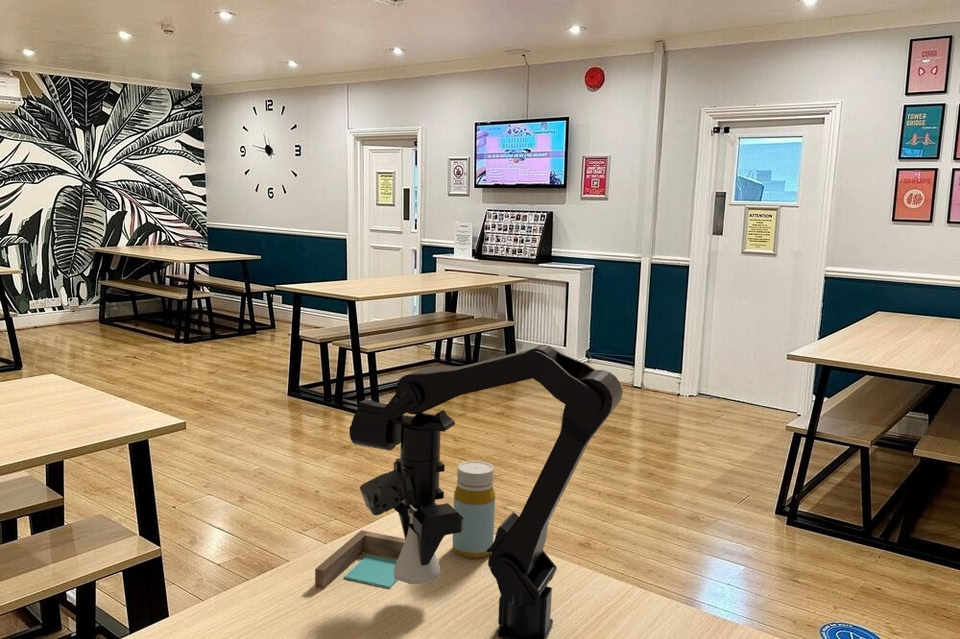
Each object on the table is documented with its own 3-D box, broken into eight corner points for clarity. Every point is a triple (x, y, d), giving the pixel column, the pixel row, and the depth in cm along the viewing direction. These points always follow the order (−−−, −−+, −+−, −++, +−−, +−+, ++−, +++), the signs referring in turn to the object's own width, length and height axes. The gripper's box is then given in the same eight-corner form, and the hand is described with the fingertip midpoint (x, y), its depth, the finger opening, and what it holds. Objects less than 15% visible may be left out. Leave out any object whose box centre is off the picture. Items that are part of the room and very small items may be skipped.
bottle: (446, 545, 129) (448, 462, 126) (482, 538, 132) (485, 458, 129) (462, 563, 122) (465, 476, 120) (499, 555, 125) (503, 471, 123)
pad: (411, 565, 121) (411, 563, 121) (390, 588, 113) (390, 586, 113) (367, 556, 123) (367, 554, 123) (344, 578, 116) (344, 576, 116)
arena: (420, 558, 123) (421, 541, 123) (381, 602, 109) (381, 583, 109) (360, 546, 127) (361, 530, 126) (315, 587, 113) (315, 568, 113)
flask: (434, 589, 105) (436, 523, 103) (386, 582, 106) (387, 517, 105) (446, 565, 112) (448, 503, 111) (401, 559, 113) (402, 498, 112)
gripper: (347, 441, 111) (347, 539, 114) (388, 485, 95) (386, 598, 97) (416, 434, 116) (414, 527, 118) (466, 474, 99) (463, 581, 102)
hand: (417, 556), depth 109 cm, fingers closed on flask, 5 cm apart
